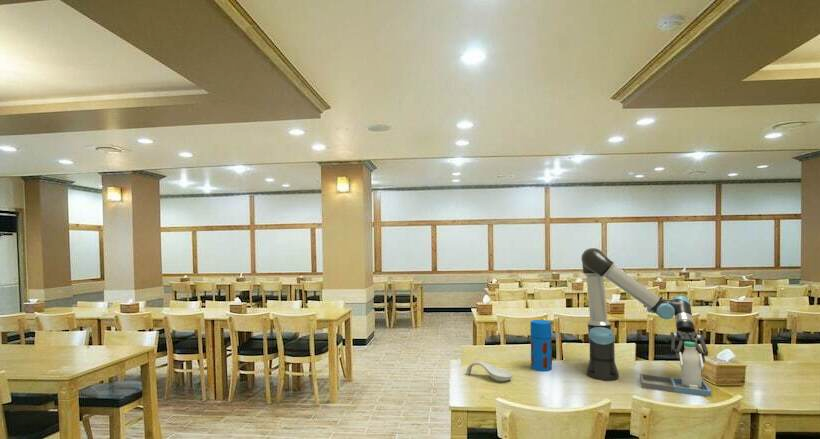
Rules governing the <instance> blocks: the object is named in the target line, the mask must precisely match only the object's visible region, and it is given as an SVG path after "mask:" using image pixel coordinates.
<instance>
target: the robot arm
mask: <svg viewBox="0 0 820 439" xmlns="http://www.w3.org/2000/svg"><path fill="white" fill-rule="evenodd" d="M581 263H582V264H581V267H582V274H584V276H585V277H586V288H587V298H588V299H587V300H588V309H589V319H590V320H589V321H588V322H587V337H588V338H587V339H588V340H589V341H588V342H589V361H588V364H587V367H586V371H585V372H586V373H585V374H586V375H587V376H588V377H589V378H592V379H595V380H600V381H611V382H612V381H616V380H619V379H620V374H619V373H620V372H619V369H618V368H617V364H616V361H615V360H616V359H615V358H616V356H615V354H616V353H615V340H616V338H615V333H614V331H613V330H612V323H611V322H610V321H609V320H608V314H607V311H608V310H607V302H606V299H607V298H606V291H605V280H604V278H606V279H607V280H609V281H610V282H611V283H612V284H614V285H616V287H618V288H620V289H621V290H623V291H624V292H625V293H627V294H628V295H629V296H631V297H633V299H635V300H637V301H638V302H639V303H641V305H643V306H645V307H646V312H648V313H651V314H656V315H657V316H658V317H659V318H661V319H663V320H671V319H672V318H673V317H674V319H675V321H674V322H675V327H676V332H673V331H671V332H670V335H669V336H670V338H671V348H670V349H671V350H670V351H671V352H670V353H675V355H676V360H678V361H679V366H680V368H681V367H682V368H683V361H682V354H683V353H682V352H681V349H682V346H683V345H684V342H686V341H689V342H694V343H695V344H696V348H695V350H696V353H697V354H698V357H699V359H700V367H701V371H703V370H704V363H705V362H706V358H705V357H707V356H708V355H709V349H708V347H707V345H706V341H705V339H704V338H705V337H704V336H705V335H704V334H698V333H697V332H696V329H695V324H694V323H695V322H694V319H693V313H692V306H691V303H690V300H689V298H688V297H687V296H684V295H678V296H677V295H676V296H674V297H673V298H672V299H665V298H661V297H660V296H659V295H657V294H655V293H654V292H653V291H651V290H650V289H649V288H647V287H646V286H644V285H643V284H642V283H640V282H639V281H637V280H636V279H634V278H633V277H631V276H630V275H629V274H627V273H626V272H625V271H623V270H622V269H621V268H619V267H618V266H616V265H615V262H614V261H612V260H611V259H610V258H609V257H608V256H606V255H605V254H604V252H603V251H602V250H600V249H599V248H596V247H591V248H586V249H585V250H584V251H583V253H582V254H581ZM676 338H679V342H678V345H677V347H676V348H675V346H676ZM696 339H698V341H699V342H700V345H699V343H698V342H697V340H696Z"/></svg>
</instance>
